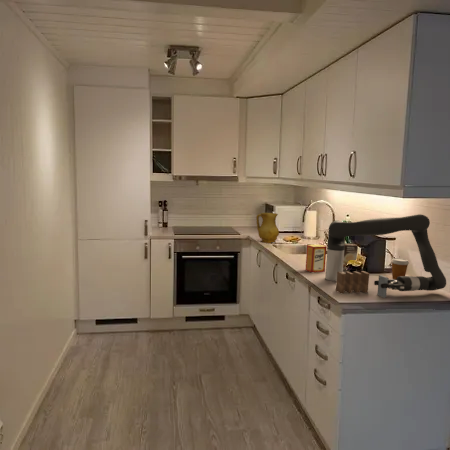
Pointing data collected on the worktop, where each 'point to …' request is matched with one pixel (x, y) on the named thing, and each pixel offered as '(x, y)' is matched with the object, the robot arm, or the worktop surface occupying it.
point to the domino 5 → (380, 291)
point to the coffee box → (349, 253)
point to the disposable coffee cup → (399, 267)
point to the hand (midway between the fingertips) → (378, 284)
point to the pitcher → (267, 227)
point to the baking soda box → (315, 258)
